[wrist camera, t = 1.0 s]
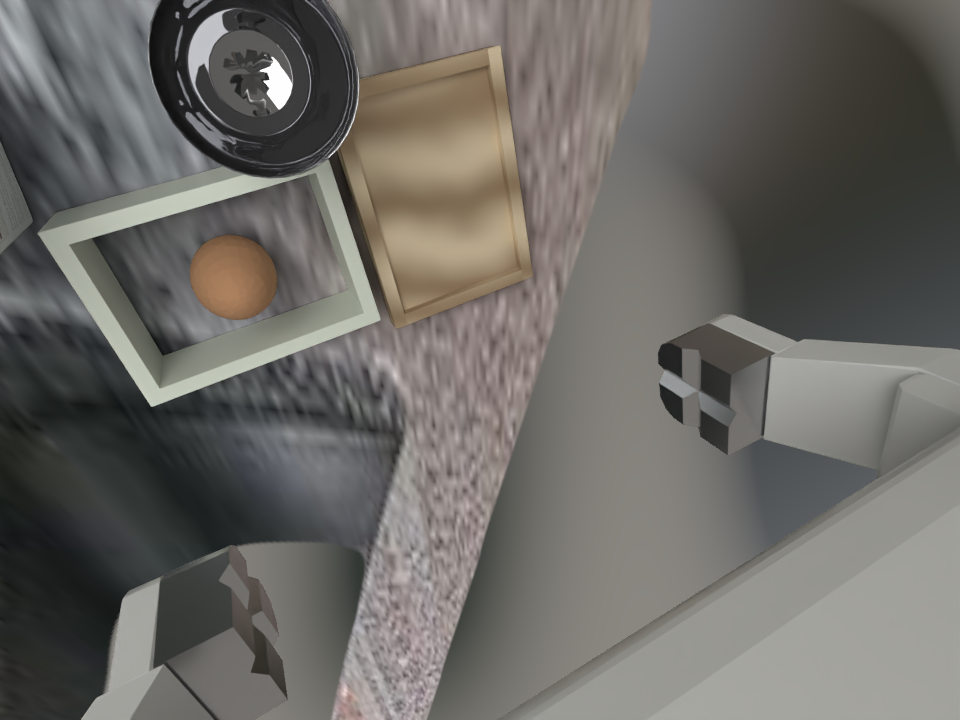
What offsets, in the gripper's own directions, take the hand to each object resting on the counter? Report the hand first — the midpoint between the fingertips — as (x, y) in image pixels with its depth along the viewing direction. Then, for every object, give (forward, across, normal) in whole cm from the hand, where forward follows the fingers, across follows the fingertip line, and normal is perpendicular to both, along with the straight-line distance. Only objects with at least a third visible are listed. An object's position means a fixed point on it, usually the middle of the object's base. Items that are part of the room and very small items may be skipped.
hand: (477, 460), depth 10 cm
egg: (+35, +4, +4) cm, 35 cm away
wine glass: (+34, -1, -7) cm, 35 cm away
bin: (+34, +4, +4) cm, 35 cm away
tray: (+34, -12, +4) cm, 36 cm away
